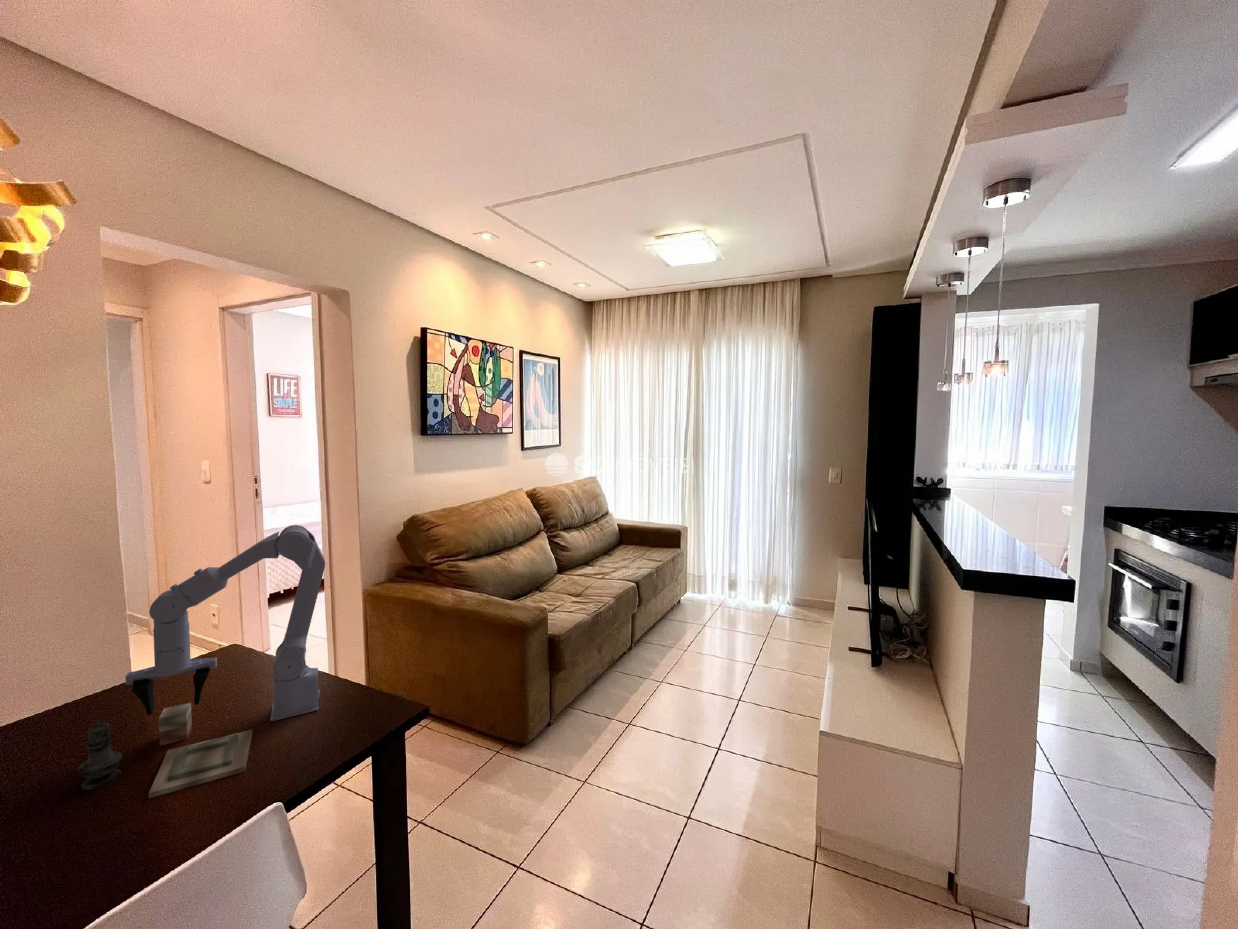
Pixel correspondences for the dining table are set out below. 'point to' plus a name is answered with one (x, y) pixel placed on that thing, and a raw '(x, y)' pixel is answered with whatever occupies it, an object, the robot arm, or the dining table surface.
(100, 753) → the dark grey chess piece
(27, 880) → the dining table surface
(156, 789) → the pocket board
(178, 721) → the brown and beige block
